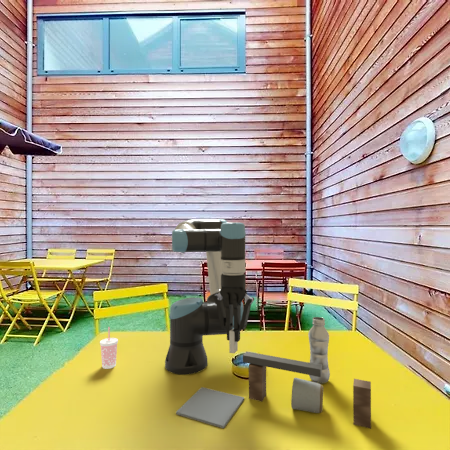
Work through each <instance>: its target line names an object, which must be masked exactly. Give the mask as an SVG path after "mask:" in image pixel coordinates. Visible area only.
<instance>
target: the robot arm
mask: <svg viewBox="0 0 450 450" xmlns="http://www.w3.org/2000/svg"><path fill="white" fill-rule="evenodd" d="M246 237H247V232H246V226H245V223H243V222H228V220H226V219H223V218H221V219H220V218H215V219H211V218H203V219H202V218H199V219H198V218H194V219H193V218H192V219H188V220H183V221H182V222H180V223H178V224H177V225H176V226H175V229H173V230H172V232H171V250H172V252H173V253H196V252H197V253H198V252H199V253H201V252H202V253H204V252H205V254H206V262H207V263H206V266H207V274H208V283H209V284H208V285H209V293H210V294H209V296H208V297H206V301H204V300H203V298H201V297H186V298H181V299H178V300H176V301H175V302H173V303H172V304H171V305H170V311H169V321H170V322H169V347H168V349H167V354H166V356H165V360H164V367H165V370H166V371H168V372H169V373H172V374H175V375H184V376H185V375H193V374H196V373H200V372H201V371H204V370H205V369H206V368H207V366H208V355H207V352H206V349H205V346H204V343H203V342H204V341H203V336H217V335H218V336H219V335H220V336H221V335H226V340H227V341H229V342H228V344H229V349H228V350H229V352H228V353H229V354H230V353H231V354H235V353H236V352H237V351H238V346H239V345H238V342H239V341H240V340H241V331H242V330H243V331H244V330H245V329H246V328H247V325H248V320H249V316H250V312H251V306H252V304H253V302H255V298H254V297H253V296H250V295H248V291H247V289H246V286H247V285H246V282H247V281H246V280H247V279H246V274H245V273H246V270H247V269H246ZM243 301H244V302H243Z"/></svg>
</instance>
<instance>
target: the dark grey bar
mask: <svg viewBox="0 0 450 450" xmlns="http://www.w3.org/2000/svg"><path fill="white" fill-rule="evenodd" d="M242 362H243V363H246V364H256V365H261V366H266V368H273V369H278V370H282V371H288V372H292V373H297V374H303V375H308V376H309V375H312V376H317V377H321V374H322V365H320V364H314V363H310V362H308V361H302V360H296V359H291V358H285V357H280V356H273V355H270V354H263V353H257V352H252V351H245V352H244V353H243V354H242Z"/></svg>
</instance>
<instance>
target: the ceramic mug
mask: <svg viewBox="0 0 450 450" xmlns="http://www.w3.org/2000/svg"><path fill="white" fill-rule="evenodd" d="M292 381H293V382H292V387H291V399H290V401H291V409H292V410H297V411H298V410H299V411H304V412H310V413H315V414H320V413H323V409H324V408H323V406H324V405H323V404H324V386H323V384H322V383H316V382H314V381H312V380H311V381H310V380H306V379H302V378H298V377H294V378H293V380H292Z"/></svg>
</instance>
